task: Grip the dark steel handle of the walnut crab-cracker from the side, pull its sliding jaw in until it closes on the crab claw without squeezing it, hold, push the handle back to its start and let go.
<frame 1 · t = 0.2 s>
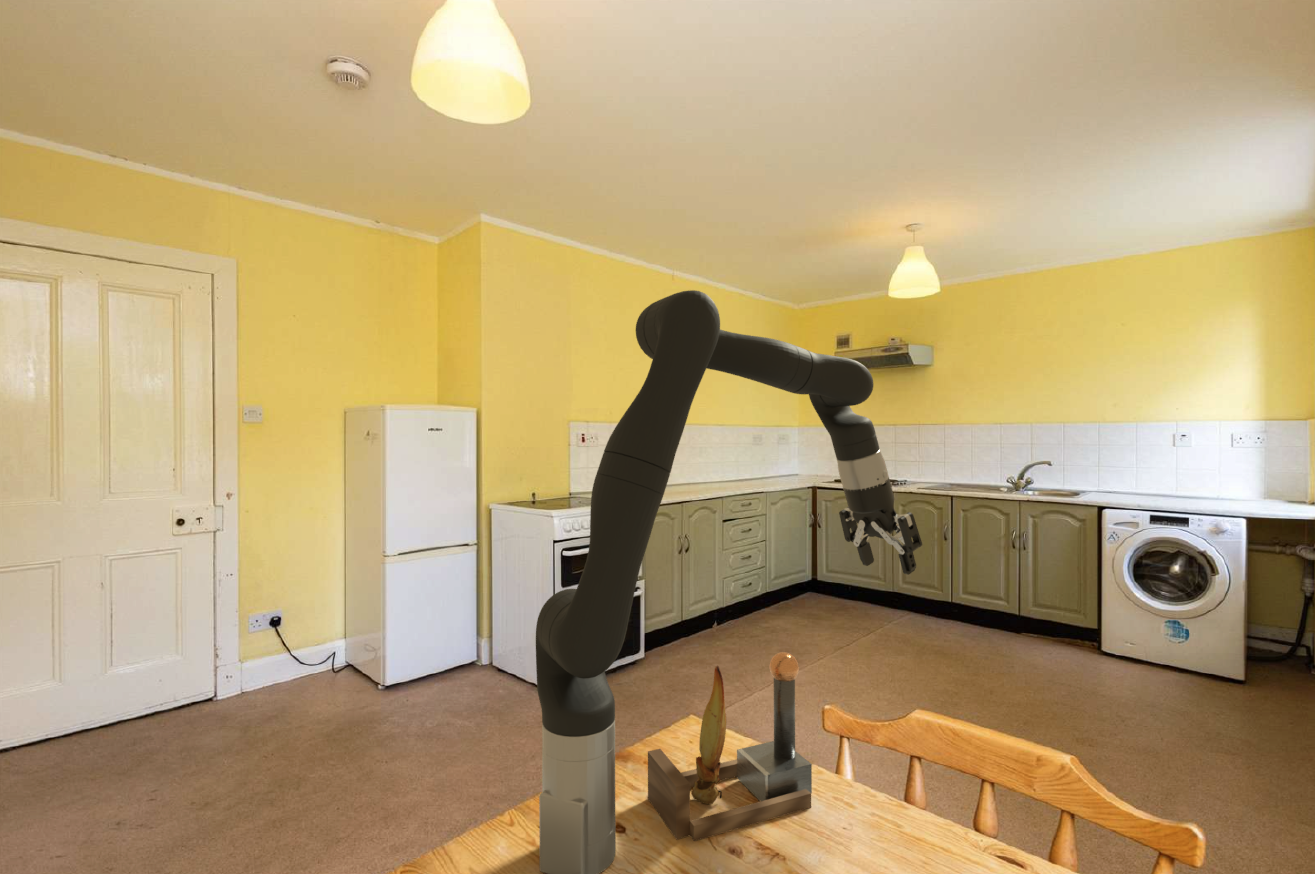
hand: (888, 568, 105), 31 cm above the table, tool tilted 20°, fingers open, 8 cm apart
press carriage: (773, 720, 94), point 10 cm above the table, slide at 0.0 cm
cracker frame: (728, 800, 90), on the table
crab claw: (709, 807, 89), resting in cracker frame
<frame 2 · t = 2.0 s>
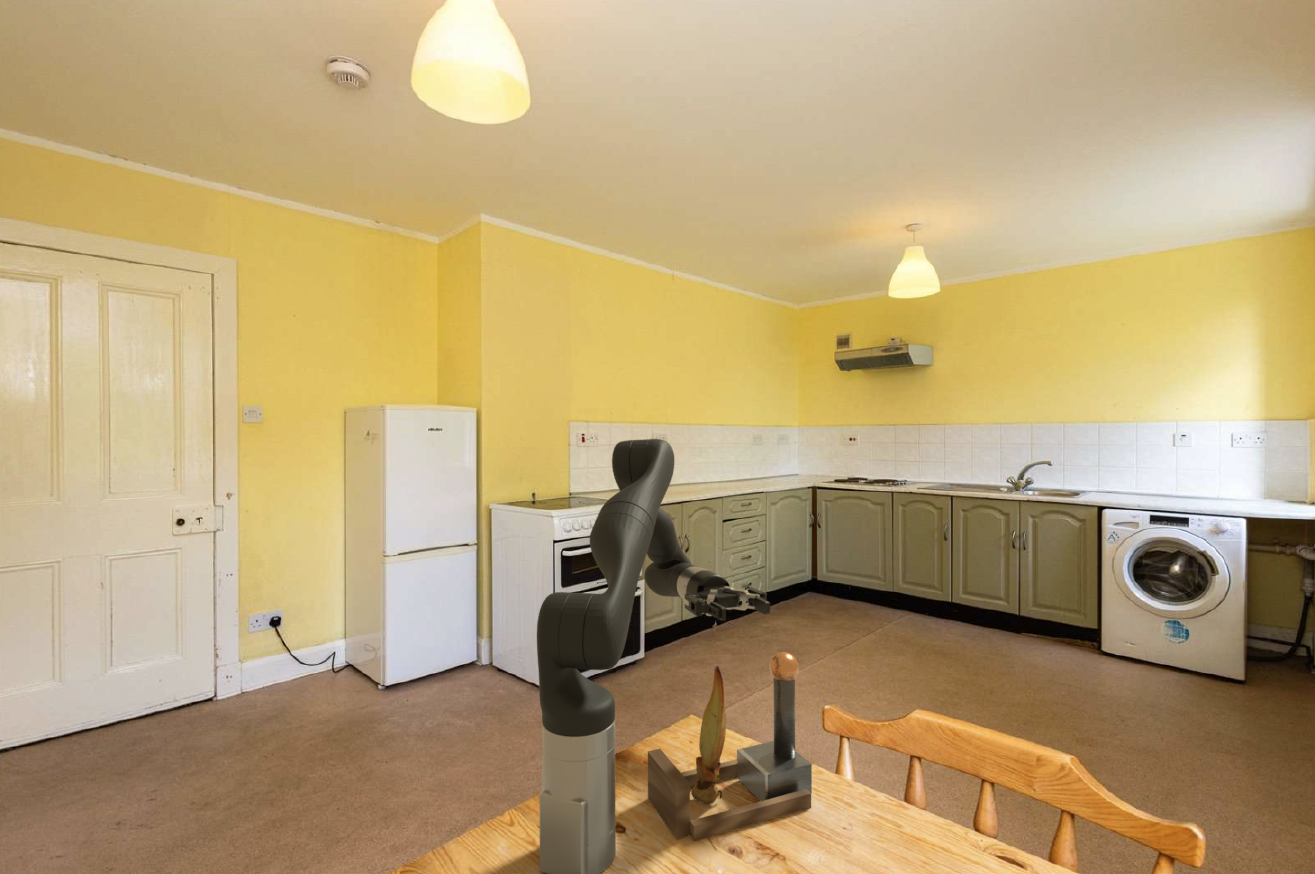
hand: (746, 611, 104), 24 cm above the table, tool horizontal, fingers open, 8 cm apart
nothing on the table moved.
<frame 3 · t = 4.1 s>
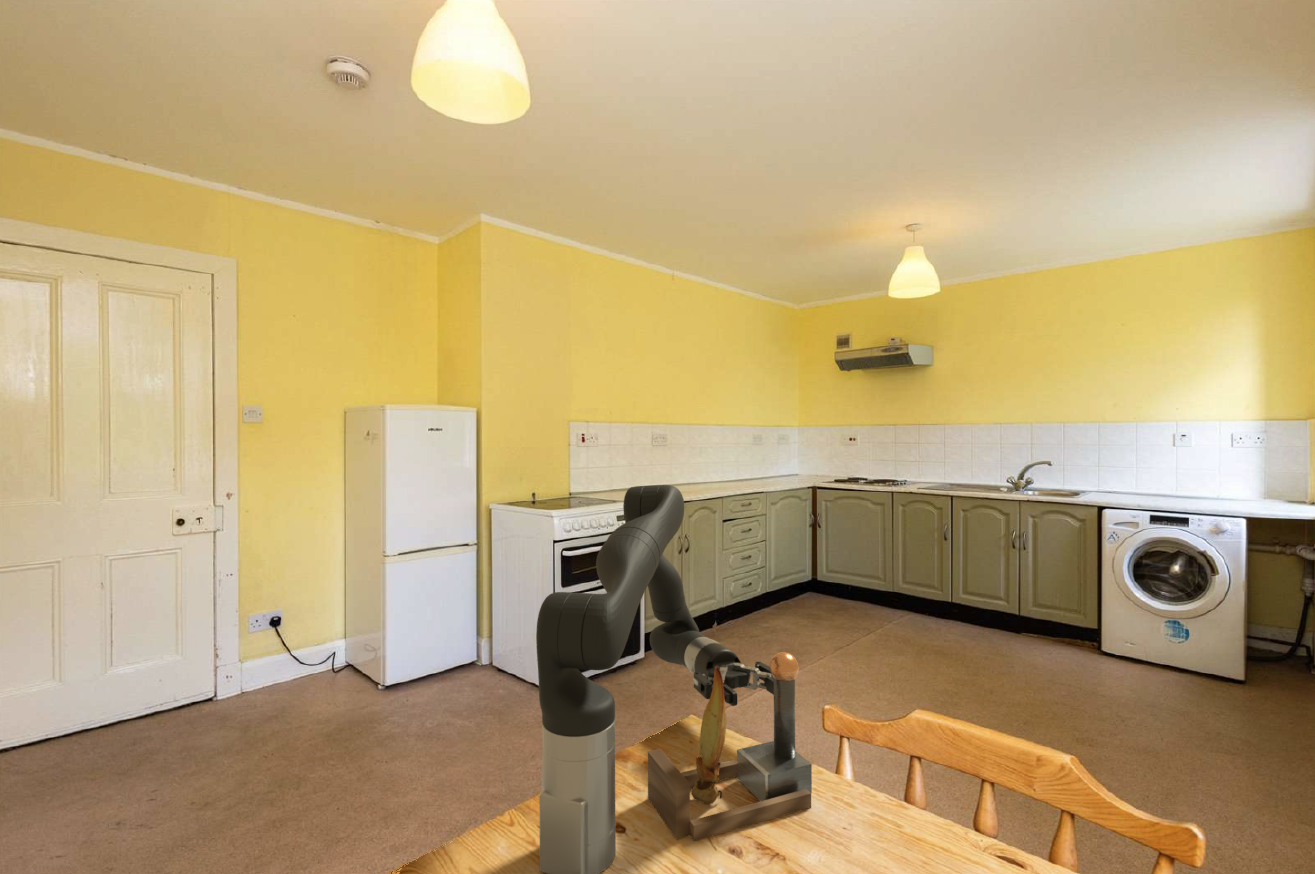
hand: (758, 695, 101), 11 cm above the table, tool horizontal, fingers open, 8 cm apart
nothing on the table moved.
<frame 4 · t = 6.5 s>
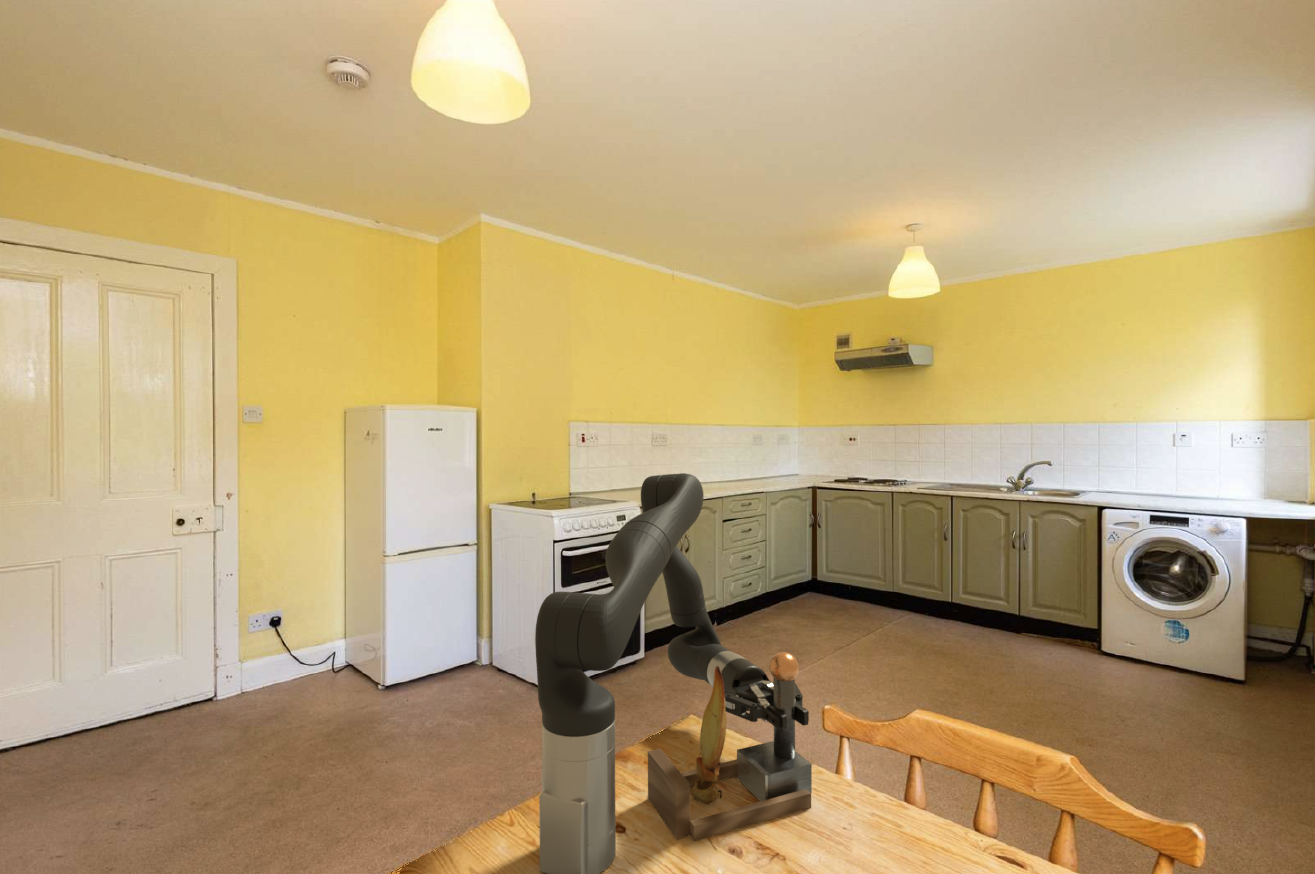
hand: (795, 721, 92), 11 cm above the table, tool horizontal, fingers closed on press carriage, 3 cm apart
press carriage: (773, 720, 94), point 10 cm above the table, slide at 0.0 cm, touching gripper
everything else where it was.
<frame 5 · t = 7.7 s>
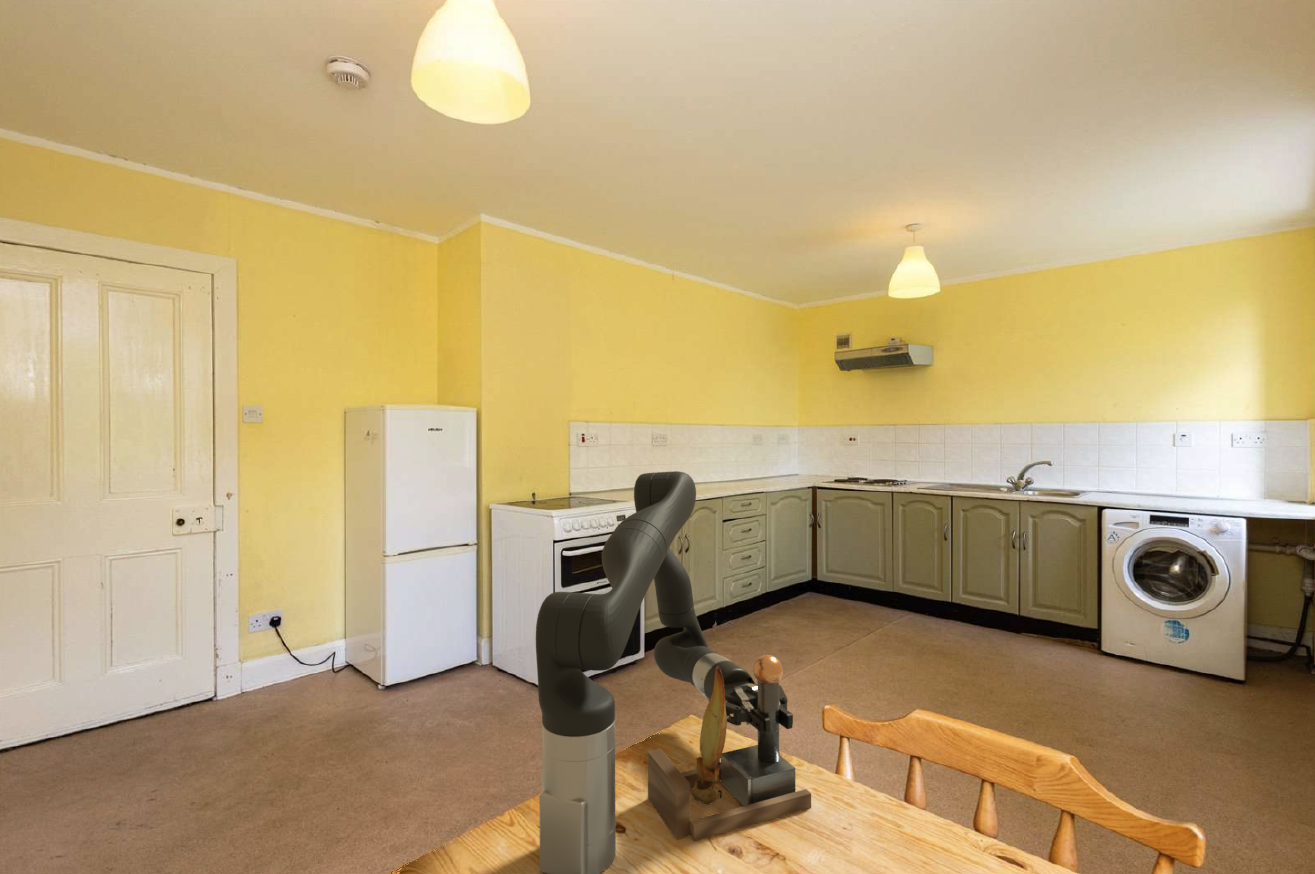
hand: (779, 724, 91), 11 cm above the table, tool horizontal, fingers closed on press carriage, 3 cm apart
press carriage: (757, 723, 92), point 10 cm above the table, slide at 2.9 cm, touching gripper
everything else where it was.
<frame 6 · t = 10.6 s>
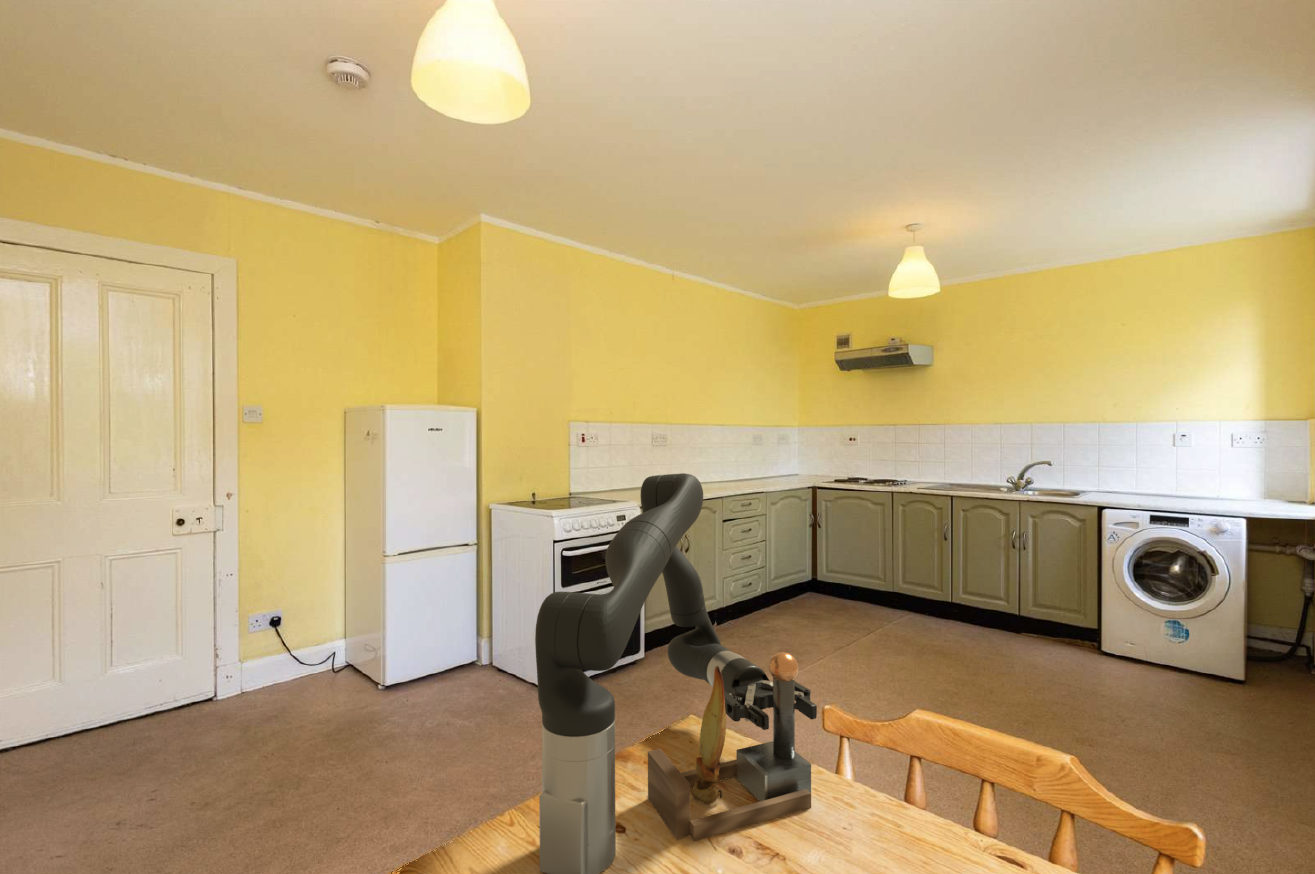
hand: (791, 718, 93), 11 cm above the table, tool horizontal, fingers open, 8 cm apart
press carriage: (773, 720, 94), point 10 cm above the table, slide at 0.1 cm
everything else where it was.
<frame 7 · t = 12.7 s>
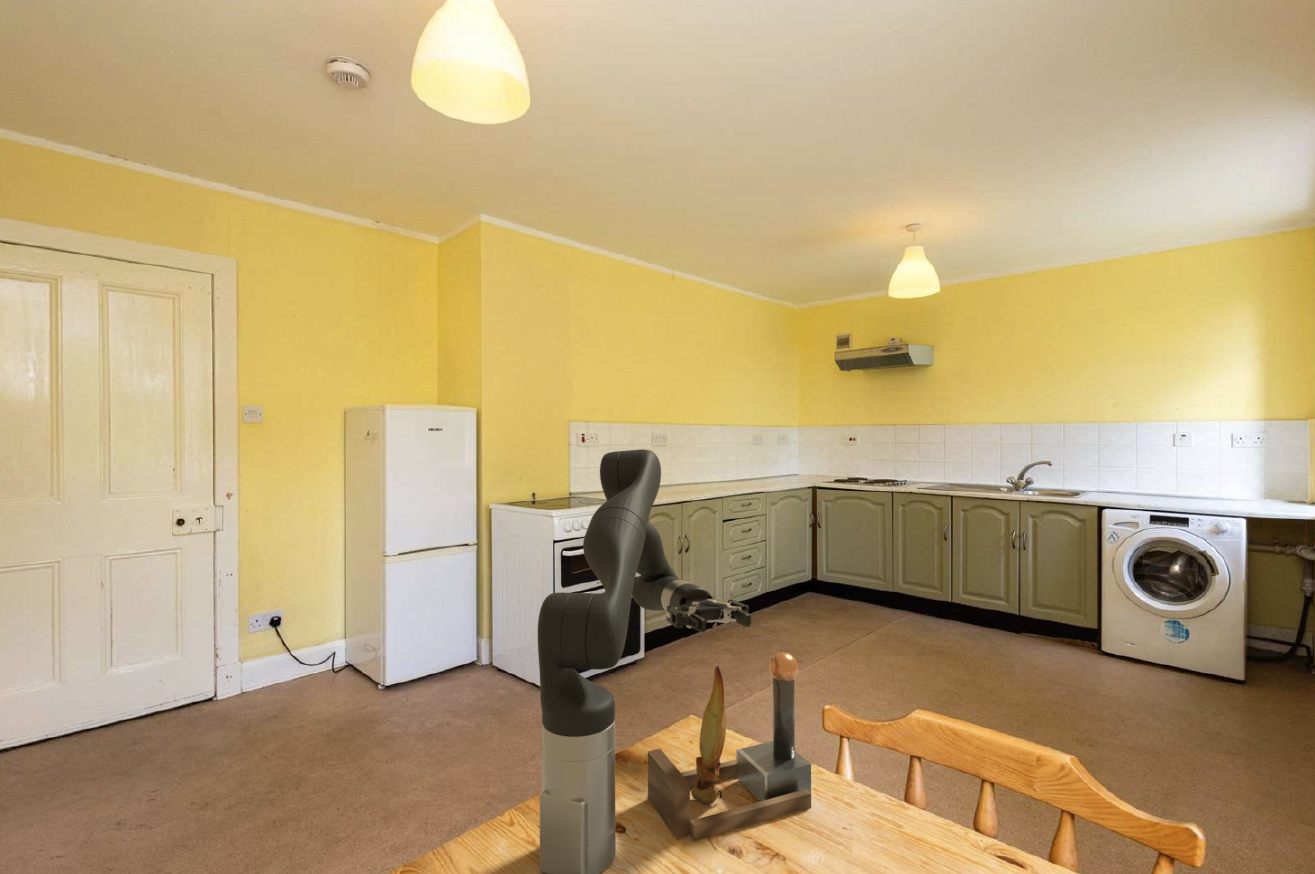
hand: (726, 623, 104), 22 cm above the table, tool horizontal, fingers open, 8 cm apart
nothing on the table moved.
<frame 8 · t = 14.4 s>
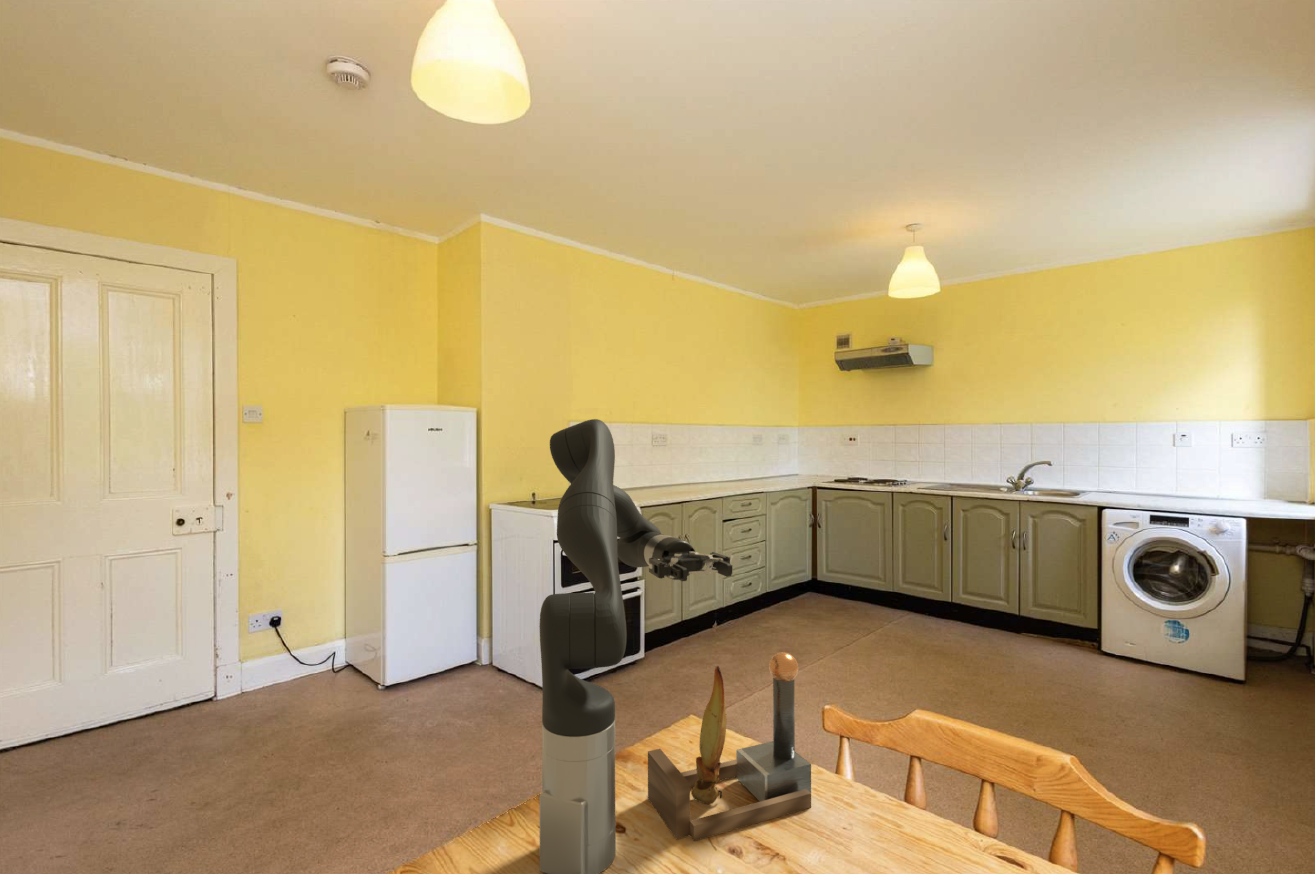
hand: (708, 573, 105), 30 cm above the table, tool horizontal, fingers open, 8 cm apart
nothing on the table moved.
at the end: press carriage slide at 0.1 cm; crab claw moved 0.2 cm from its start; the gripper is holding nothing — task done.
